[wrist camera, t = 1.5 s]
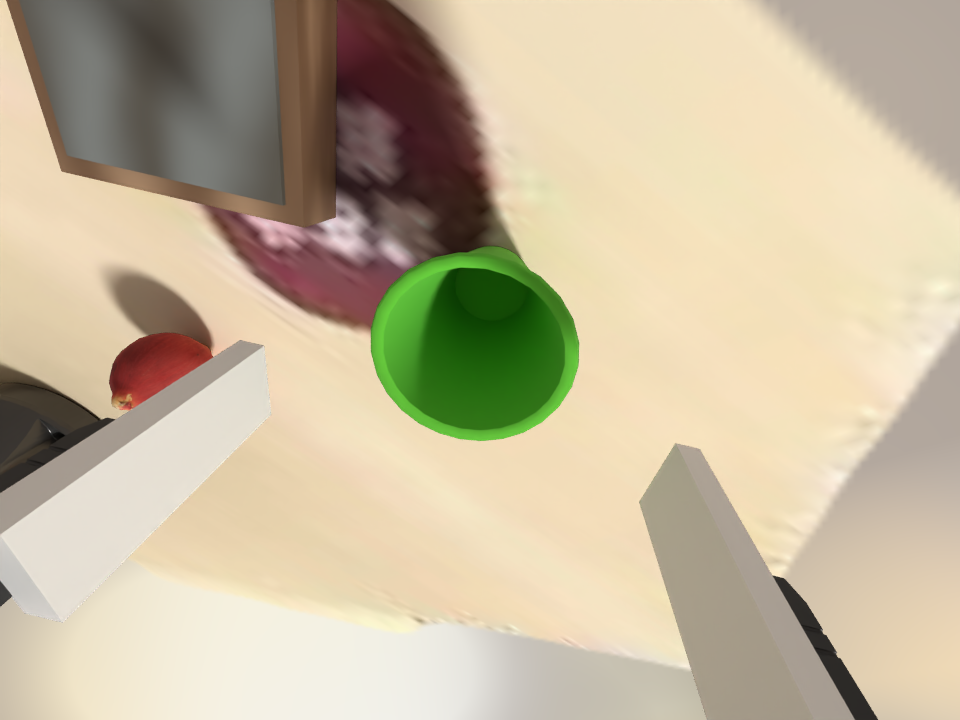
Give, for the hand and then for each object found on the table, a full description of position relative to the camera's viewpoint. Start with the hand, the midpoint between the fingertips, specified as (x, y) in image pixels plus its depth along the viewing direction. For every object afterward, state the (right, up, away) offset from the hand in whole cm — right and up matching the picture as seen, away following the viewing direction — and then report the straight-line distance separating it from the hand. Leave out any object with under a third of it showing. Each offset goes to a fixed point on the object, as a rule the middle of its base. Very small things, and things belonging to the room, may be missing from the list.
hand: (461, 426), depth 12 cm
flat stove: (-14, +19, +9) cm, 26 cm away
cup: (+1, +8, +14) cm, 16 cm away
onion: (-22, +3, +19) cm, 29 cm away
